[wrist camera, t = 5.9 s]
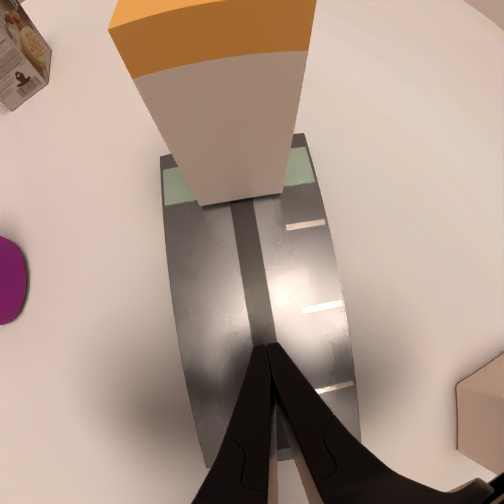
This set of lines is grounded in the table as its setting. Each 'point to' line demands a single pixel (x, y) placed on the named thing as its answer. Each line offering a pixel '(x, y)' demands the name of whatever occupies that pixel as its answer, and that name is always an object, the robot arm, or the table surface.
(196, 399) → the board
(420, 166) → the table surface
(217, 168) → the fader knob
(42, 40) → the coffee box
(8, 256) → the beverage can
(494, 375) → the medicine bottle
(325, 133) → the table surface
